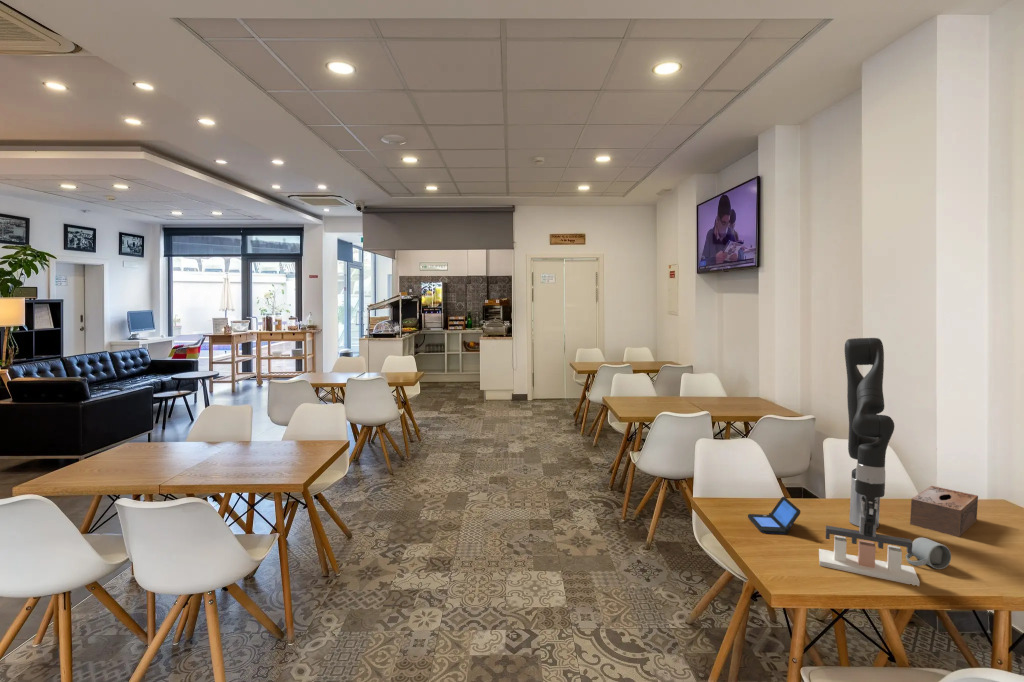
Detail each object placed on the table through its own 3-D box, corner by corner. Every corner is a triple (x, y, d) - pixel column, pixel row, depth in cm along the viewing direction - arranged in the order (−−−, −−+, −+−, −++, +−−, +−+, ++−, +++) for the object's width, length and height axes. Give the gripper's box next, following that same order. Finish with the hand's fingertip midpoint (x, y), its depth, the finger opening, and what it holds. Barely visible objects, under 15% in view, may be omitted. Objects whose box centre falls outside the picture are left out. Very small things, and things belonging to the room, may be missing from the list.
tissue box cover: (930, 509, 216) (931, 485, 215) (976, 521, 205) (978, 495, 204) (910, 524, 200) (911, 498, 199) (958, 538, 189) (960, 510, 188)
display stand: (818, 553, 175) (819, 529, 174) (912, 571, 163) (914, 546, 162) (819, 565, 166) (820, 540, 165) (919, 586, 154) (920, 559, 153)
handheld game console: (746, 517, 206) (747, 493, 205) (782, 519, 204) (783, 495, 204) (761, 534, 190) (762, 508, 189) (800, 536, 189) (801, 510, 188)
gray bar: (825, 536, 170) (826, 508, 170) (910, 550, 160) (911, 521, 159) (825, 539, 168) (826, 511, 167) (912, 554, 157) (913, 524, 157)
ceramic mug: (928, 556, 173) (929, 533, 172) (951, 569, 165) (952, 544, 164) (898, 558, 172) (899, 535, 171) (920, 570, 164) (921, 546, 163)
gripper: (853, 471, 171) (851, 523, 172) (857, 483, 158) (855, 539, 159) (882, 474, 167) (879, 528, 168) (888, 487, 155) (885, 545, 156)
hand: (867, 533), depth 164 cm, fingers closed on gray bar, 3 cm apart
